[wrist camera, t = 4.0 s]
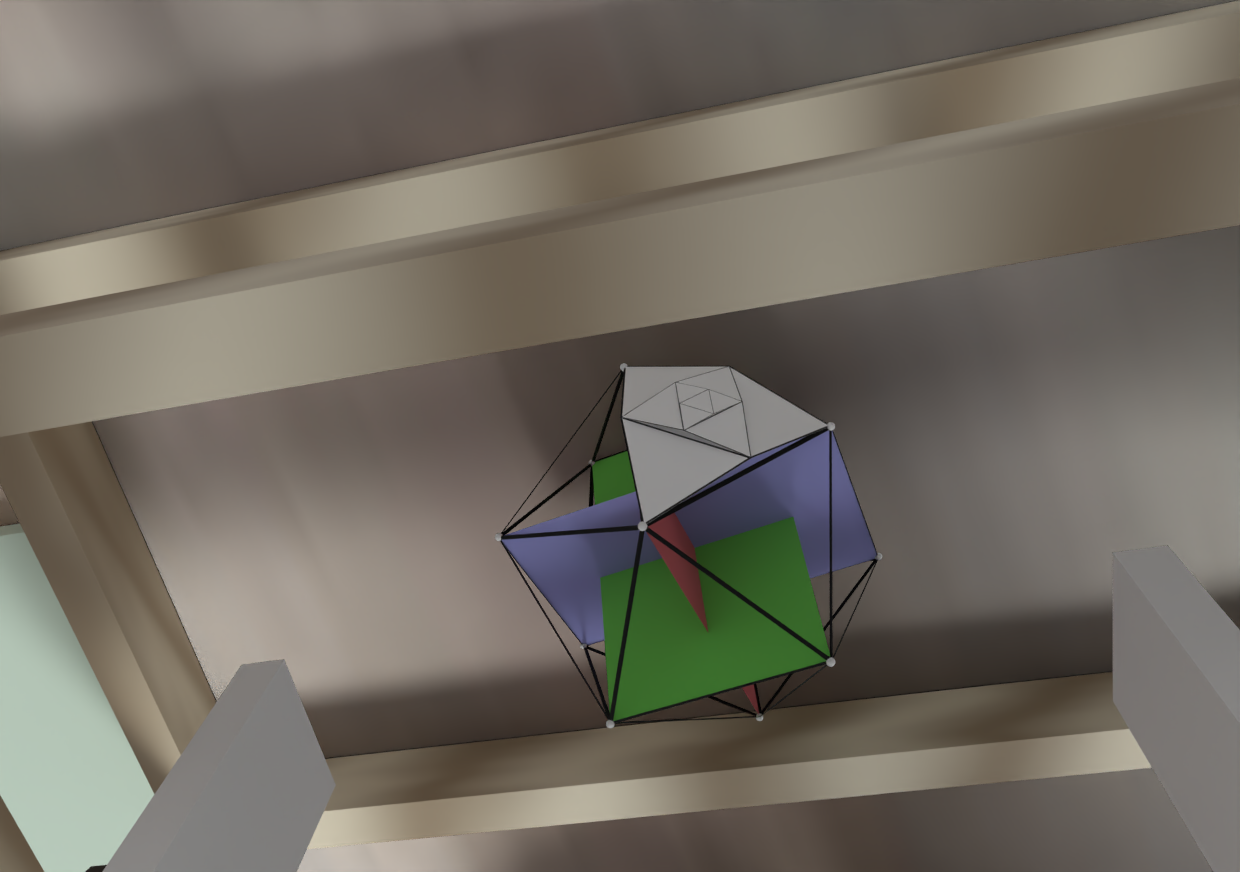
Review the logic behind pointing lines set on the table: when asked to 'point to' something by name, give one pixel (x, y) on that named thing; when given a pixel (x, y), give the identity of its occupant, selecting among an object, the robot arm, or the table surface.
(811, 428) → the geometric puzzle
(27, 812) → the felt pad
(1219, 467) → the table surface
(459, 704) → the table surface
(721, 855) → the table surface
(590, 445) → the table surface
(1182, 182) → the crate
